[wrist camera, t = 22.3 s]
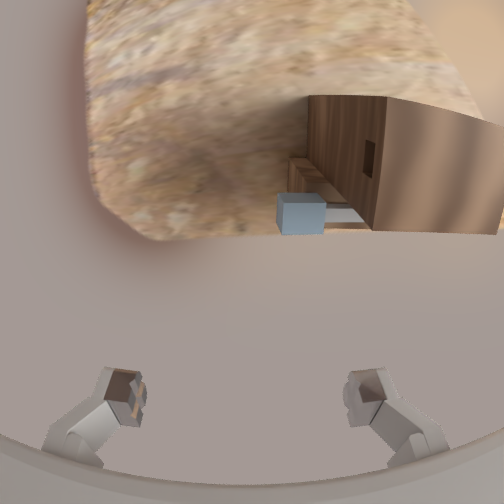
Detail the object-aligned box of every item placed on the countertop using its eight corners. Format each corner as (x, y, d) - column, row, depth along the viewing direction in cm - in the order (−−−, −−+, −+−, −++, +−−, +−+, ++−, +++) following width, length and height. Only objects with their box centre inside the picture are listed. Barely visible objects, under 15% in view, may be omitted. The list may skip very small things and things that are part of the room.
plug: (276, 222, 36) (281, 235, 33) (277, 192, 34) (283, 203, 31) (419, 221, 37) (433, 232, 34) (423, 196, 36) (439, 206, 33)
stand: (287, 190, 50) (328, 292, 25) (290, 94, 43) (349, 91, 18) (382, 194, 50) (479, 284, 25) (392, 105, 43) (516, 132, 18)
